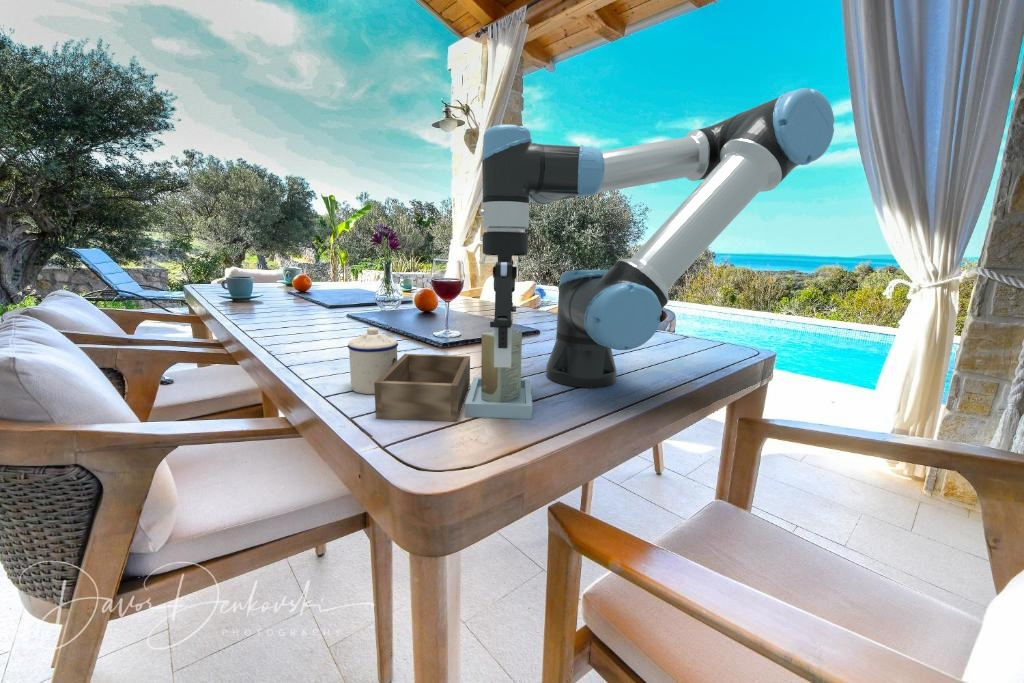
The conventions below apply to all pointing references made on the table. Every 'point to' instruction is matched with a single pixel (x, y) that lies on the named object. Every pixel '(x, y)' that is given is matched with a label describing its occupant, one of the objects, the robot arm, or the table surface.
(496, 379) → the skincare box
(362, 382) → the cream lidded jar
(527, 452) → the table surface
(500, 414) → the tray
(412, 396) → the caddy
